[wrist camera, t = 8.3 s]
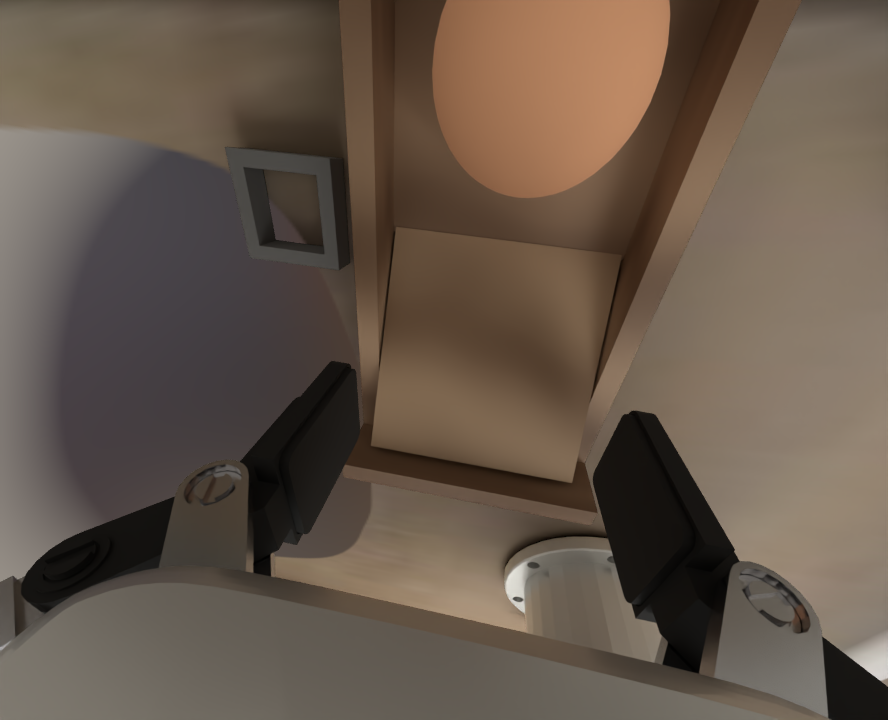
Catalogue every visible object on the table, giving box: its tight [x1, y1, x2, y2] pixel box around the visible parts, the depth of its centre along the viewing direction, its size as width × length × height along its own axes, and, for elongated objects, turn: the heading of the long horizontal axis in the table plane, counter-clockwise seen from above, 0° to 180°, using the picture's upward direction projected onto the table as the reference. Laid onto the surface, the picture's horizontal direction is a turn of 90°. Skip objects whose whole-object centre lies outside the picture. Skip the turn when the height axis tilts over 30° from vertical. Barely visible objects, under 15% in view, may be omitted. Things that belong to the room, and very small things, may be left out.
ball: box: [432, 0, 670, 198], centre depth 8 cm, size 5×5×5 cm
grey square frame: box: [225, 147, 350, 270], centre depth 14 cm, size 4×4×1 cm
